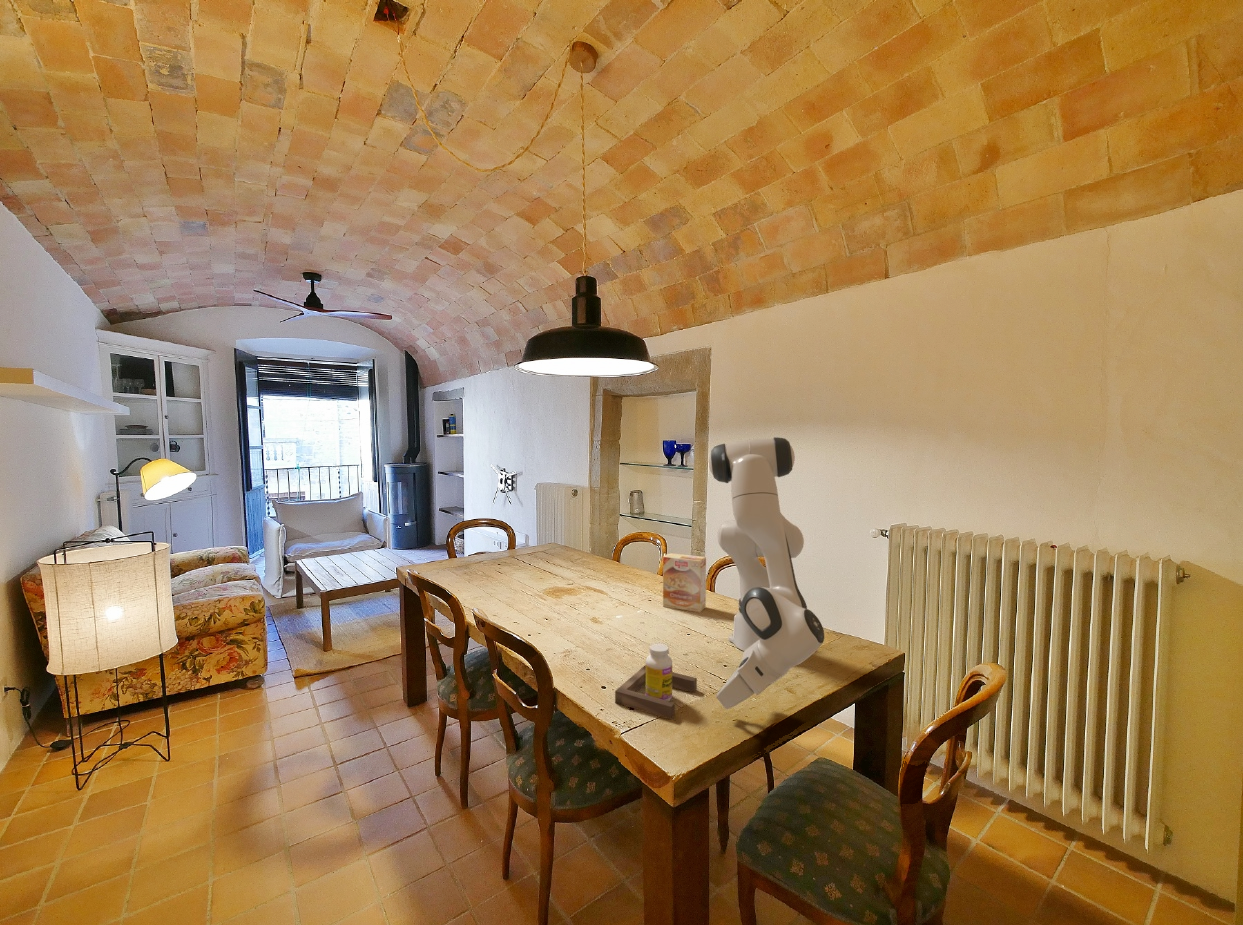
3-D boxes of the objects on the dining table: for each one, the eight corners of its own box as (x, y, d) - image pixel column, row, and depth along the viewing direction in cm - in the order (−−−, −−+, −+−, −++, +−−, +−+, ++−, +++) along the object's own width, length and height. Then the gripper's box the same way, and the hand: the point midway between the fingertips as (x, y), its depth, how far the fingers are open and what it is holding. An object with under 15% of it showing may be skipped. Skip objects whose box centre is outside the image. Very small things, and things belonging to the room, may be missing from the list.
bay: (645, 676, 141) (645, 665, 140) (696, 689, 133) (696, 678, 133) (615, 702, 127) (615, 690, 127) (671, 719, 119) (671, 706, 119)
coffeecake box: (662, 607, 196) (662, 556, 195) (669, 601, 203) (669, 552, 202) (700, 613, 190) (700, 560, 189) (706, 607, 196) (706, 556, 195)
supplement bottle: (663, 707, 124) (663, 655, 124) (640, 699, 128) (640, 648, 128) (677, 696, 130) (677, 646, 129) (655, 688, 134) (655, 639, 133)
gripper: (764, 636, 126) (725, 666, 131) (739, 669, 108) (695, 702, 114) (783, 658, 124) (742, 687, 129) (760, 695, 106) (714, 728, 112)
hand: (720, 695), depth 121 cm, fingers closed
